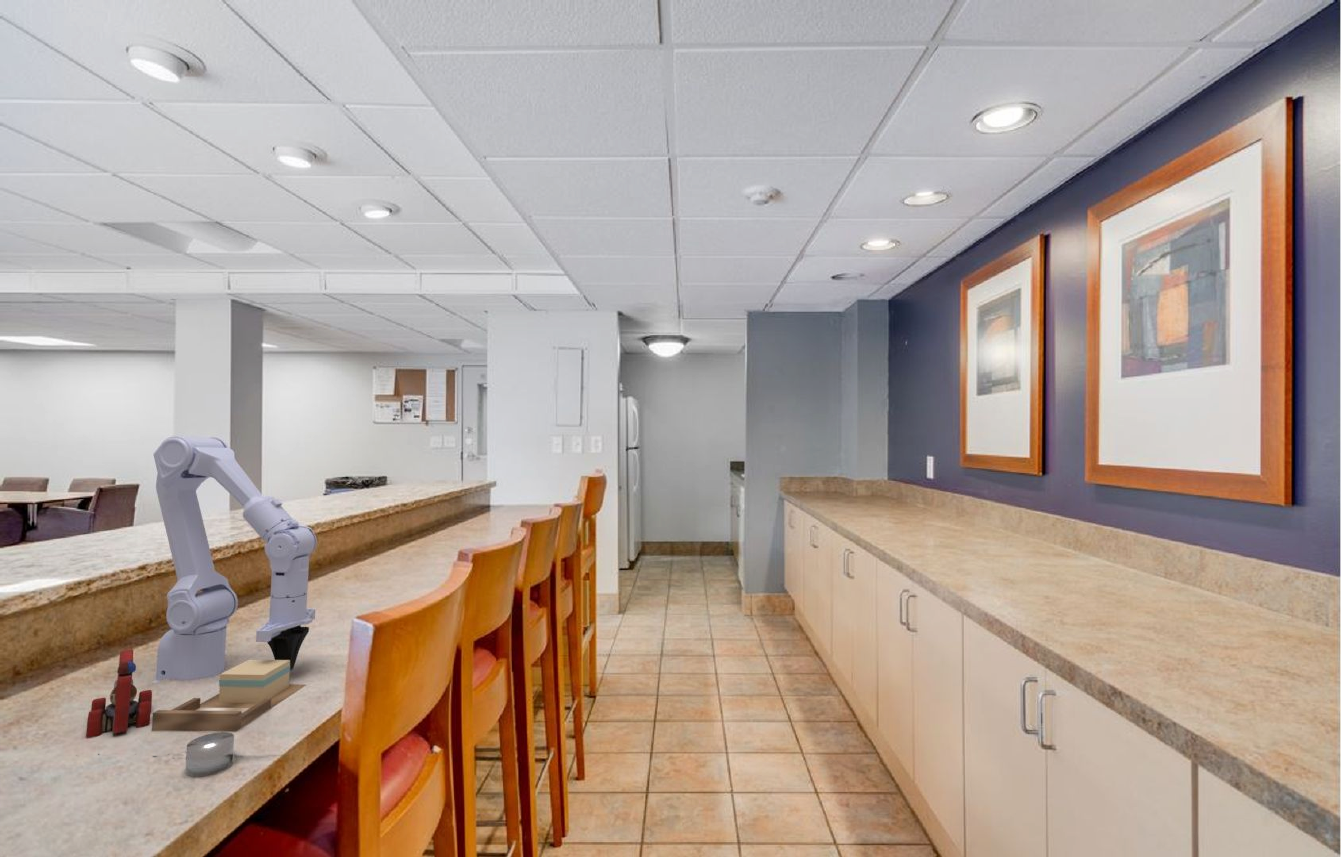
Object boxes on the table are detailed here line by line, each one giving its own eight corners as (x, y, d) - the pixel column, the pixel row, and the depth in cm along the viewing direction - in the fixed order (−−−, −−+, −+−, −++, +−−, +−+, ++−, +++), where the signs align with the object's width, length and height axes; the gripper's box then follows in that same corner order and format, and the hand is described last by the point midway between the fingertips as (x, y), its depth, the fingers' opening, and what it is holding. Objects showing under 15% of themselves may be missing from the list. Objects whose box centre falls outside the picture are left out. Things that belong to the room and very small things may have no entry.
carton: (218, 702, 98) (219, 674, 98) (247, 685, 105) (248, 659, 105) (262, 703, 98) (264, 674, 98) (289, 686, 105) (290, 660, 105)
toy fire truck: (83, 751, 83) (88, 674, 84) (91, 720, 93) (95, 651, 93) (149, 737, 88) (154, 664, 88) (151, 708, 97) (155, 643, 98)
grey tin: (175, 777, 77) (176, 749, 78) (204, 758, 82) (205, 732, 83) (215, 778, 78) (216, 750, 78) (241, 758, 83) (242, 732, 83)
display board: (151, 737, 88) (152, 712, 88) (236, 689, 106) (237, 669, 106) (235, 738, 88) (237, 713, 88) (306, 690, 106) (307, 669, 106)
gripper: (287, 604, 103) (283, 685, 103) (332, 586, 118) (329, 657, 117) (245, 604, 103) (241, 685, 102) (295, 585, 117) (292, 656, 117)
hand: (285, 670), depth 110 cm, fingers closed
